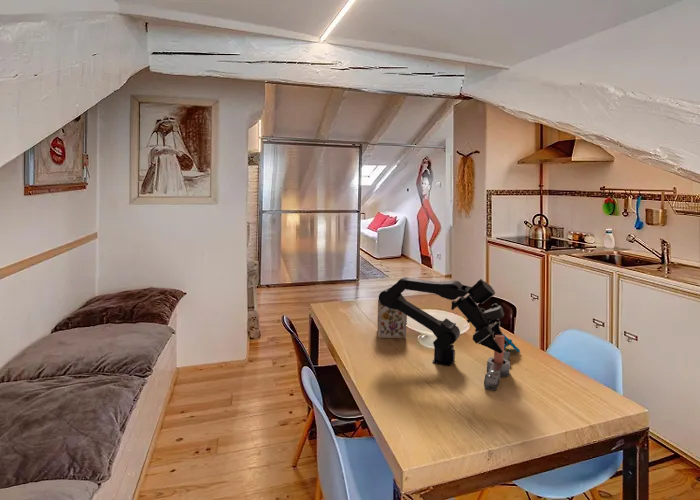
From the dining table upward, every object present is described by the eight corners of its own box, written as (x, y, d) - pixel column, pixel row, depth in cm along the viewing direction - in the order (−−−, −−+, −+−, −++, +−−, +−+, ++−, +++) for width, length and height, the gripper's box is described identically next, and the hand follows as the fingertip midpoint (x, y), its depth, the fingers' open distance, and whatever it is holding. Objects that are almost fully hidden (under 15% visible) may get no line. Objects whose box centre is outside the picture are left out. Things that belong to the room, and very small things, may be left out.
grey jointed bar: (478, 388, 134) (478, 375, 134) (494, 355, 160) (495, 345, 160) (501, 393, 131) (502, 380, 131) (514, 359, 157) (515, 348, 156)
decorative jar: (406, 339, 178) (407, 297, 175) (378, 338, 178) (379, 296, 175) (403, 329, 190) (404, 290, 187) (377, 329, 190) (377, 289, 187)
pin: (492, 373, 145) (494, 336, 143) (494, 369, 148) (496, 334, 146) (501, 375, 144) (503, 338, 142) (503, 371, 147) (505, 335, 145)
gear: (524, 352, 159) (505, 333, 160) (513, 363, 160) (494, 344, 160) (516, 345, 170) (498, 327, 171) (505, 355, 171) (487, 337, 171)
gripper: (484, 304, 136) (519, 343, 132) (495, 292, 152) (526, 326, 149) (458, 324, 141) (491, 362, 137) (471, 310, 157) (501, 344, 153)
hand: (503, 348), depth 144 cm, fingers open, 9 cm apart
